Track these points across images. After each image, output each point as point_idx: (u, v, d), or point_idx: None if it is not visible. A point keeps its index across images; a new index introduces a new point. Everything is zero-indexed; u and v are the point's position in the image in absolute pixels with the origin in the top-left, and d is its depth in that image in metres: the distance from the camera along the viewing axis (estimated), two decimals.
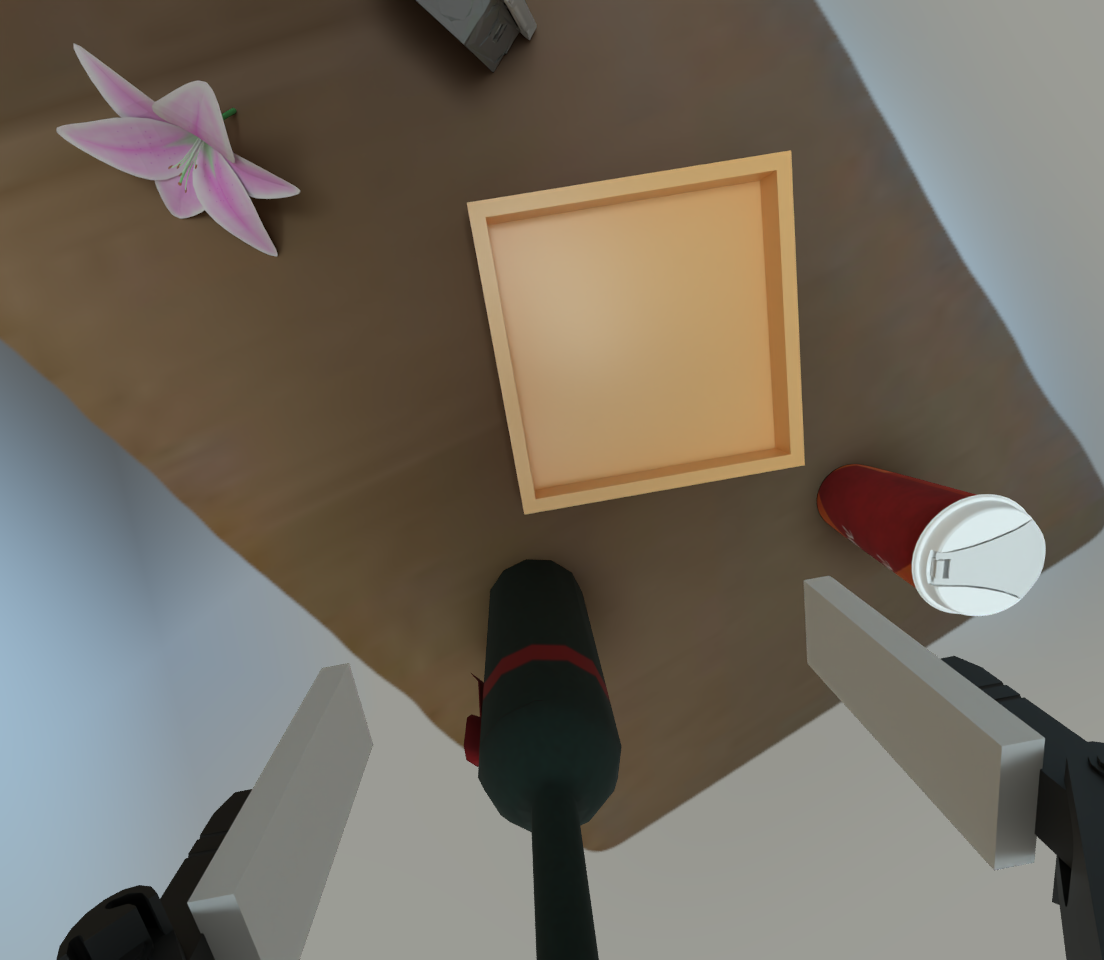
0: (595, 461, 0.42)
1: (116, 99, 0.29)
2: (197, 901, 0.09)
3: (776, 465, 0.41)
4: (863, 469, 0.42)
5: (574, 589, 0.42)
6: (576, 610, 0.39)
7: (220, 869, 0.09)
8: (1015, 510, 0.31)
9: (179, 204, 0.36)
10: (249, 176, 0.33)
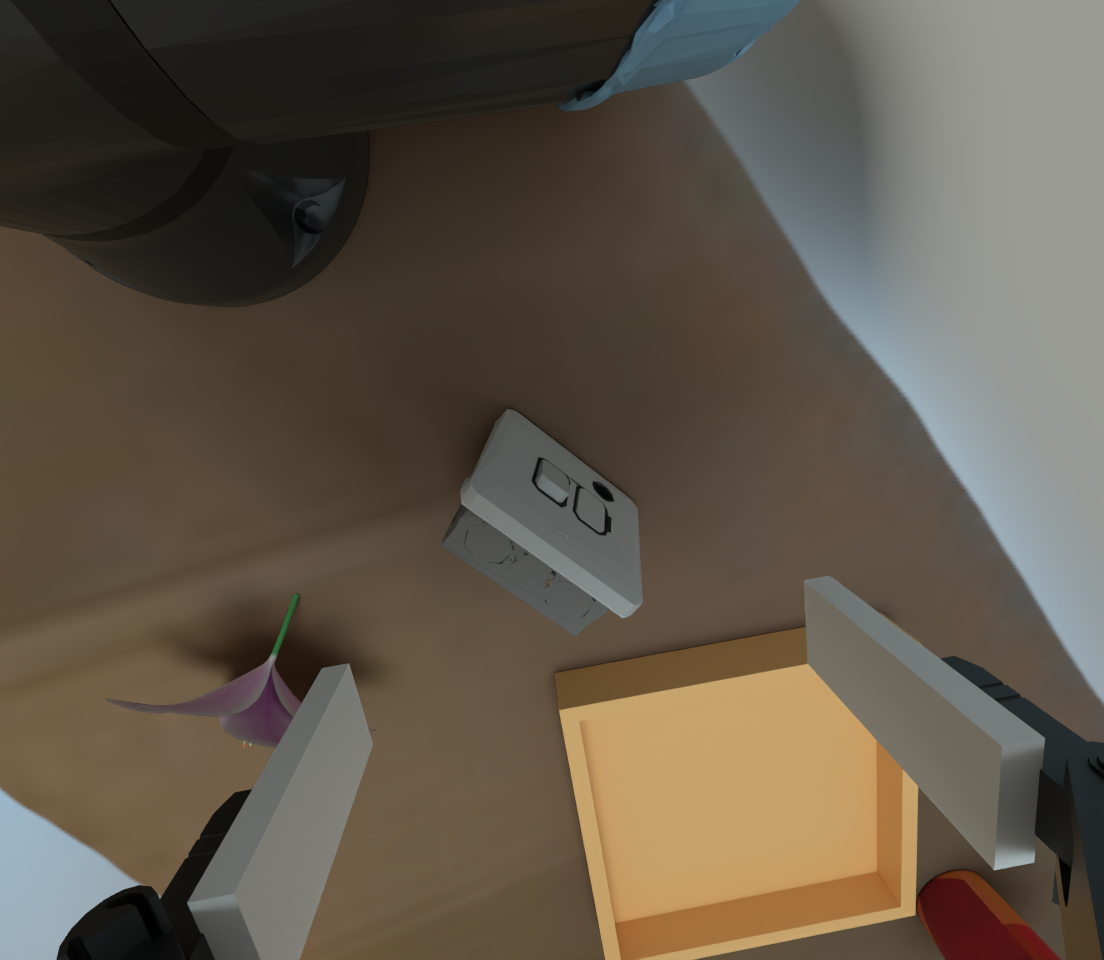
0: (682, 894, 0.38)
1: (177, 704, 0.25)
2: (197, 901, 0.09)
3: (884, 917, 0.37)
4: (974, 900, 0.39)
5: None
6: None
7: (220, 869, 0.09)
8: None
9: None
10: None
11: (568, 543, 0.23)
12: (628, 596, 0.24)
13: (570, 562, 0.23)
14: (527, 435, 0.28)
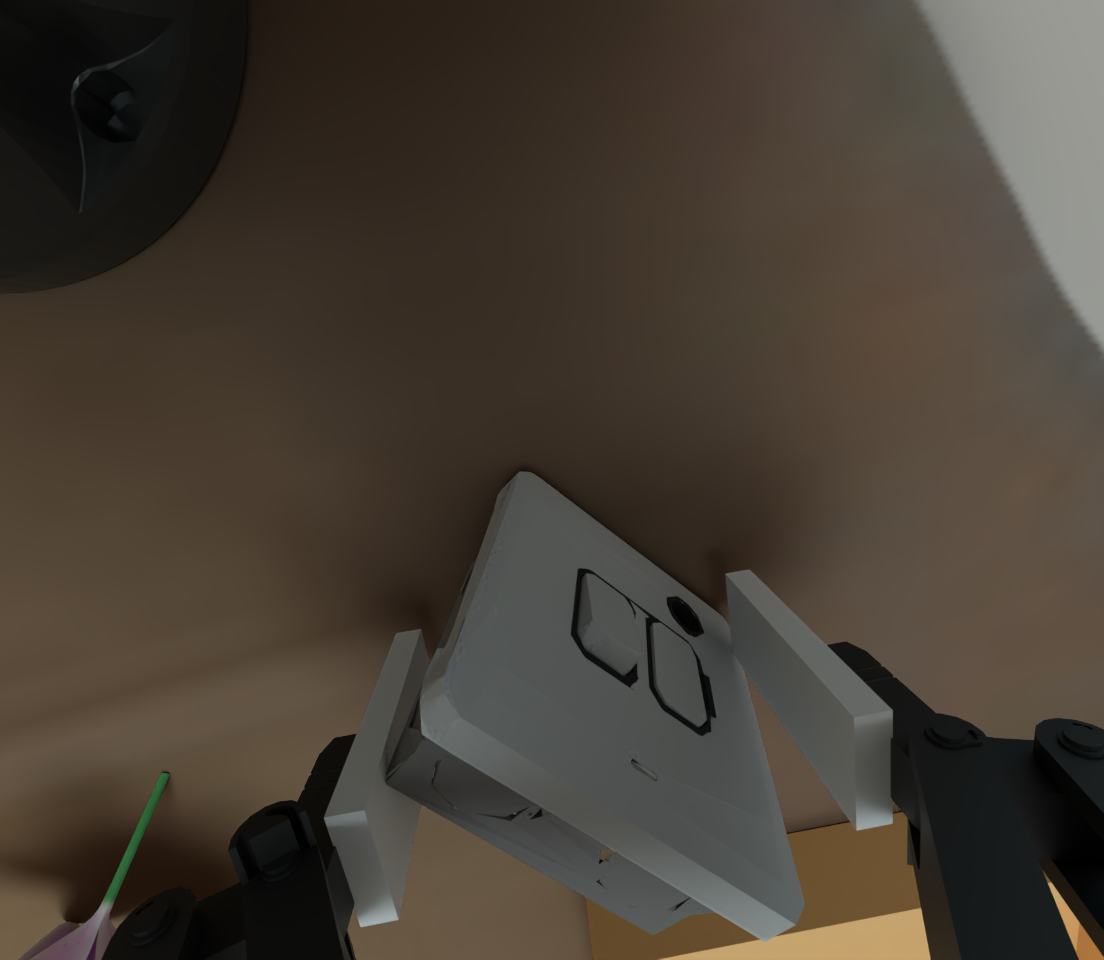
0: None
1: None
2: (332, 817, 0.10)
3: None
4: None
5: None
6: None
7: (346, 792, 0.11)
8: None
9: None
10: None
11: (655, 790, 0.11)
12: (778, 899, 0.11)
13: (665, 850, 0.10)
14: (556, 523, 0.16)
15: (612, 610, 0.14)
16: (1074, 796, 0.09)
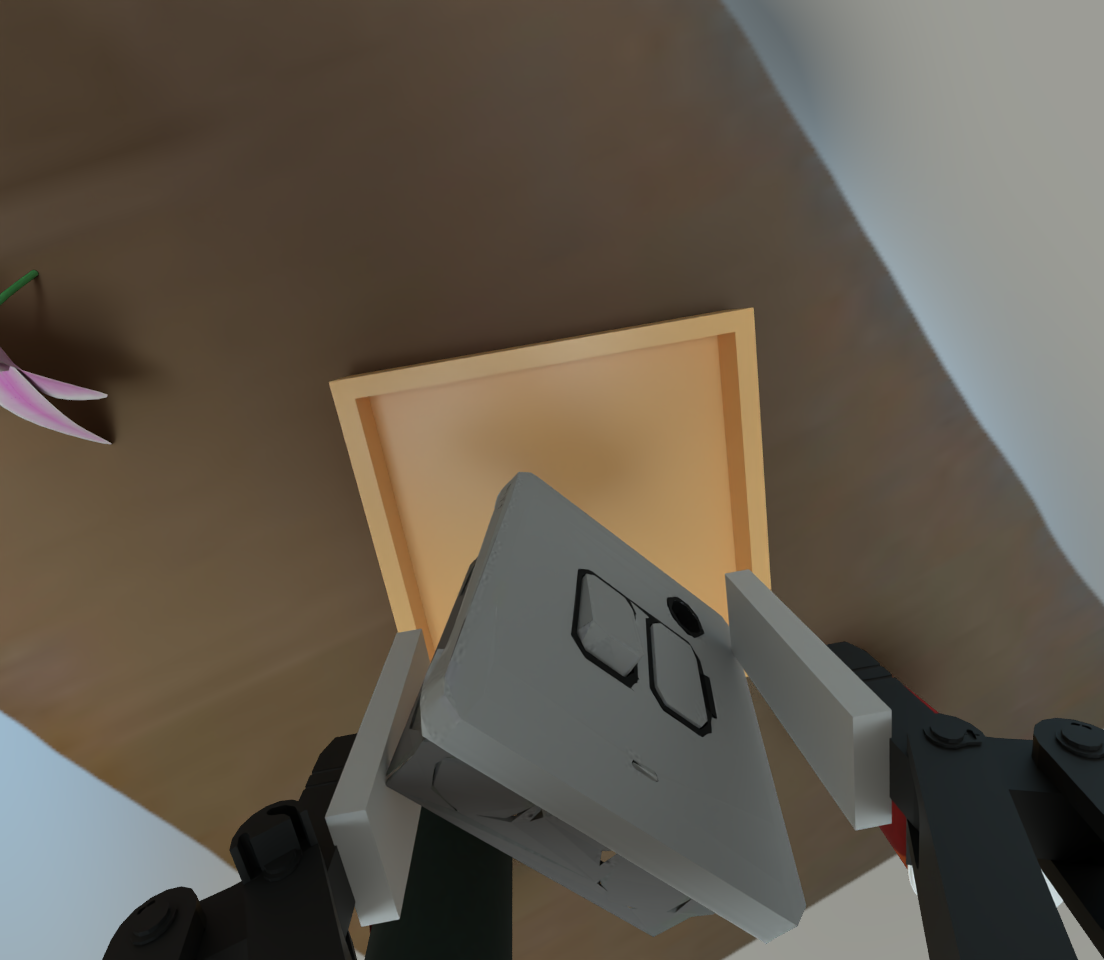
0: None
1: None
2: (333, 816, 0.10)
3: None
4: None
5: None
6: (489, 867, 0.31)
7: (347, 792, 0.11)
8: None
9: None
10: (38, 378, 0.25)
11: (656, 791, 0.11)
12: (780, 900, 0.11)
13: (666, 851, 0.10)
14: (556, 523, 0.16)
15: (612, 611, 0.14)
16: (1073, 796, 0.09)
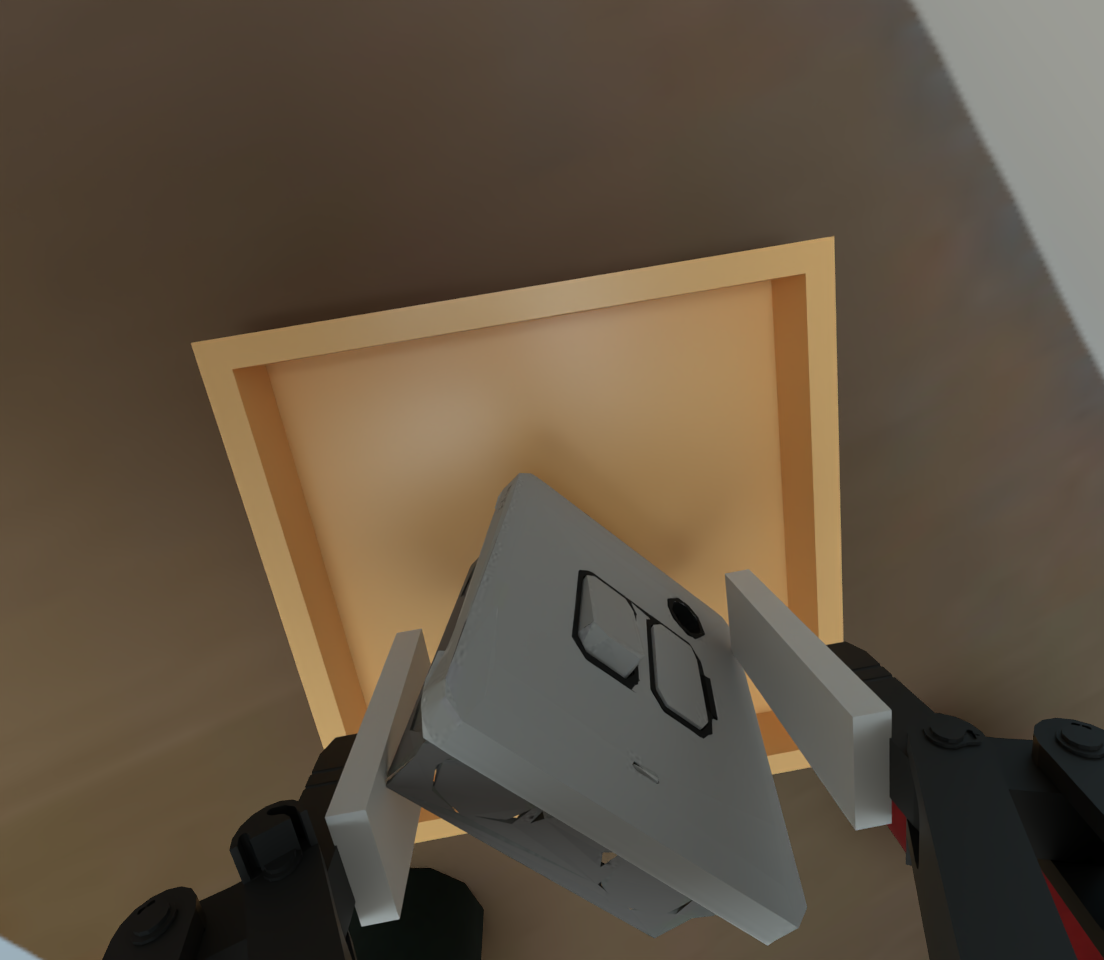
0: None
1: None
2: (333, 816, 0.10)
3: (797, 762, 0.23)
4: None
5: (456, 950, 0.25)
6: None
7: (347, 792, 0.11)
8: None
9: None
10: None
11: (657, 793, 0.11)
12: (780, 902, 0.11)
13: (667, 853, 0.10)
14: (556, 524, 0.16)
15: (613, 612, 0.14)
16: (1073, 796, 0.09)
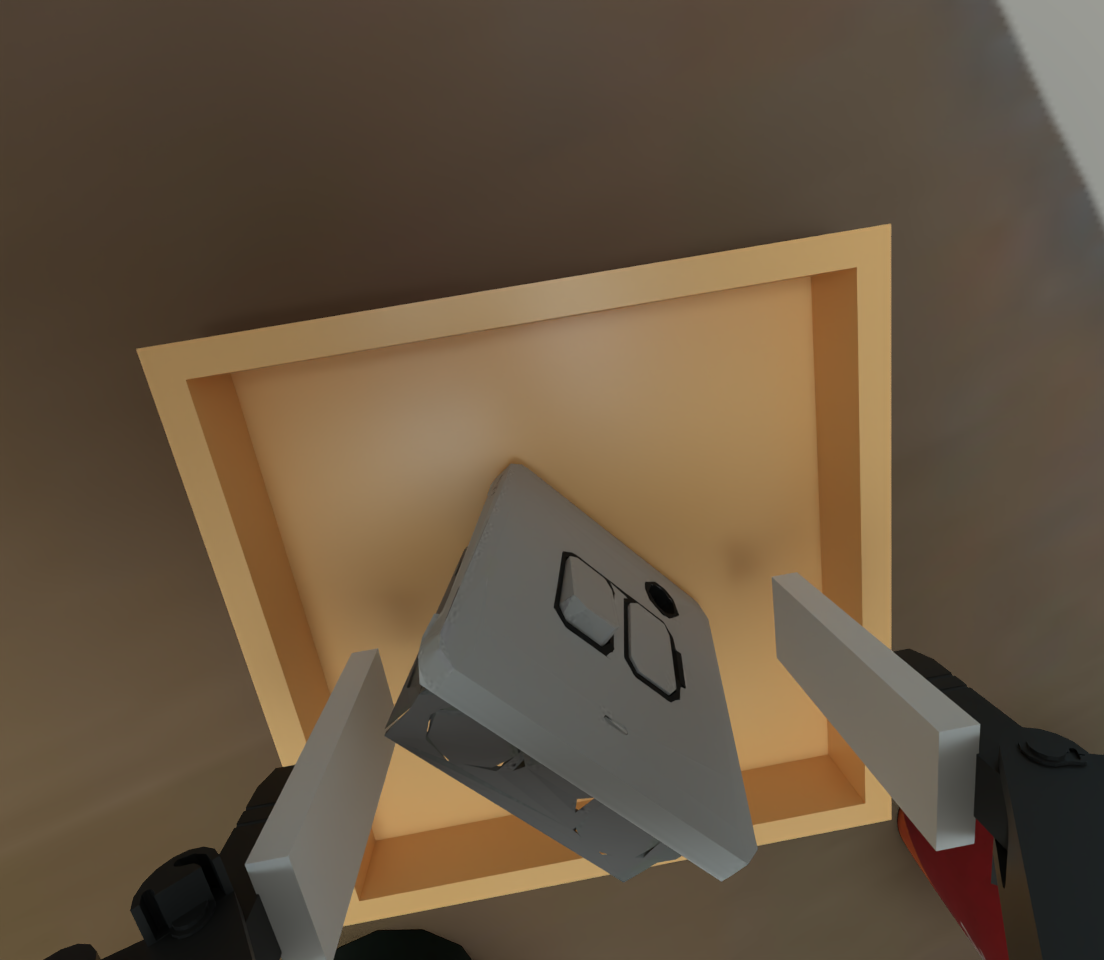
0: None
1: None
2: (253, 863, 0.09)
3: (836, 822, 0.21)
4: None
5: None
6: None
7: (272, 835, 0.10)
8: None
9: None
10: None
11: (625, 743, 0.12)
12: (733, 842, 0.13)
13: (632, 792, 0.12)
14: (543, 510, 0.17)
15: (592, 588, 0.15)
16: None
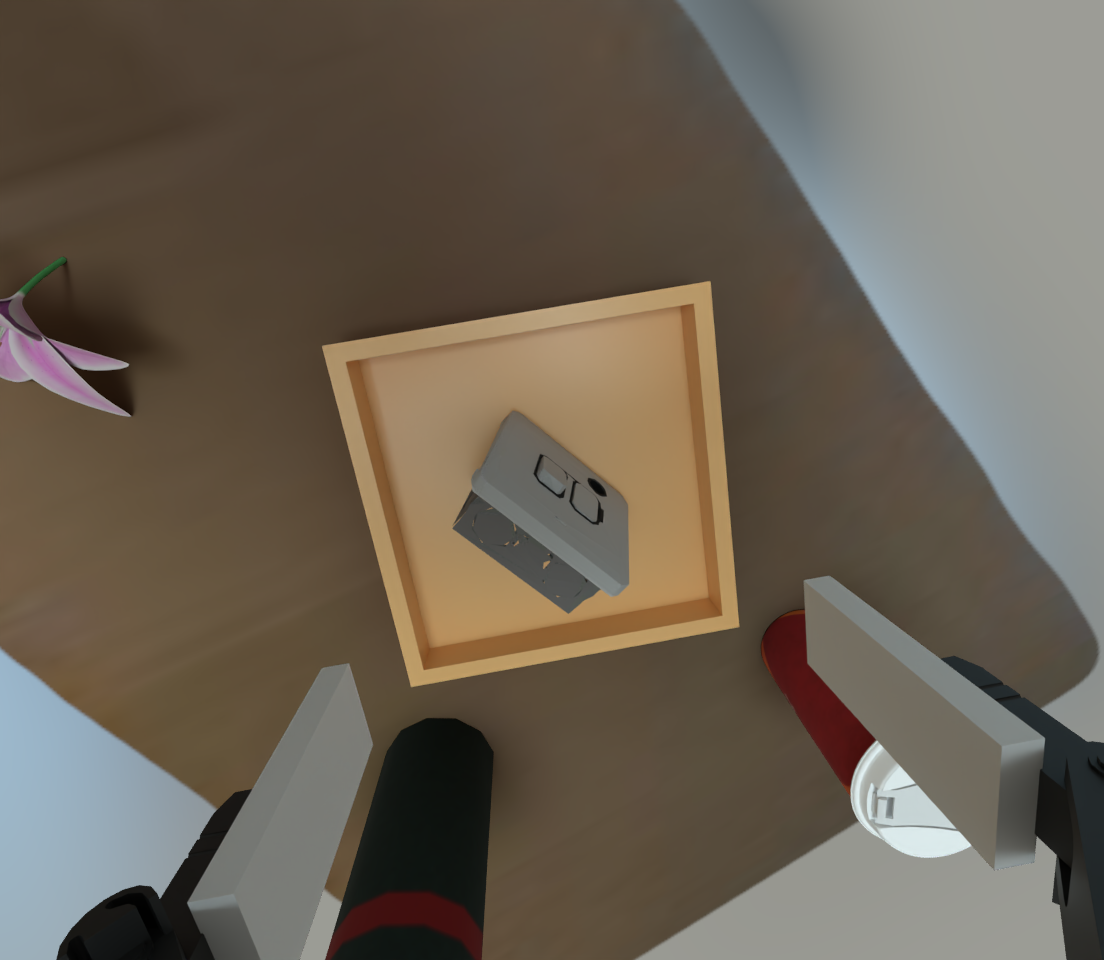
0: (499, 616, 0.36)
1: None
2: (197, 901, 0.09)
3: (706, 628, 0.35)
4: None
5: (475, 763, 0.37)
6: (467, 807, 0.33)
7: (220, 869, 0.09)
8: None
9: (6, 371, 0.31)
10: (67, 350, 0.28)
11: (565, 529, 0.27)
12: (616, 578, 0.27)
13: (566, 545, 0.26)
14: (530, 434, 0.31)
15: (554, 470, 0.29)
16: None
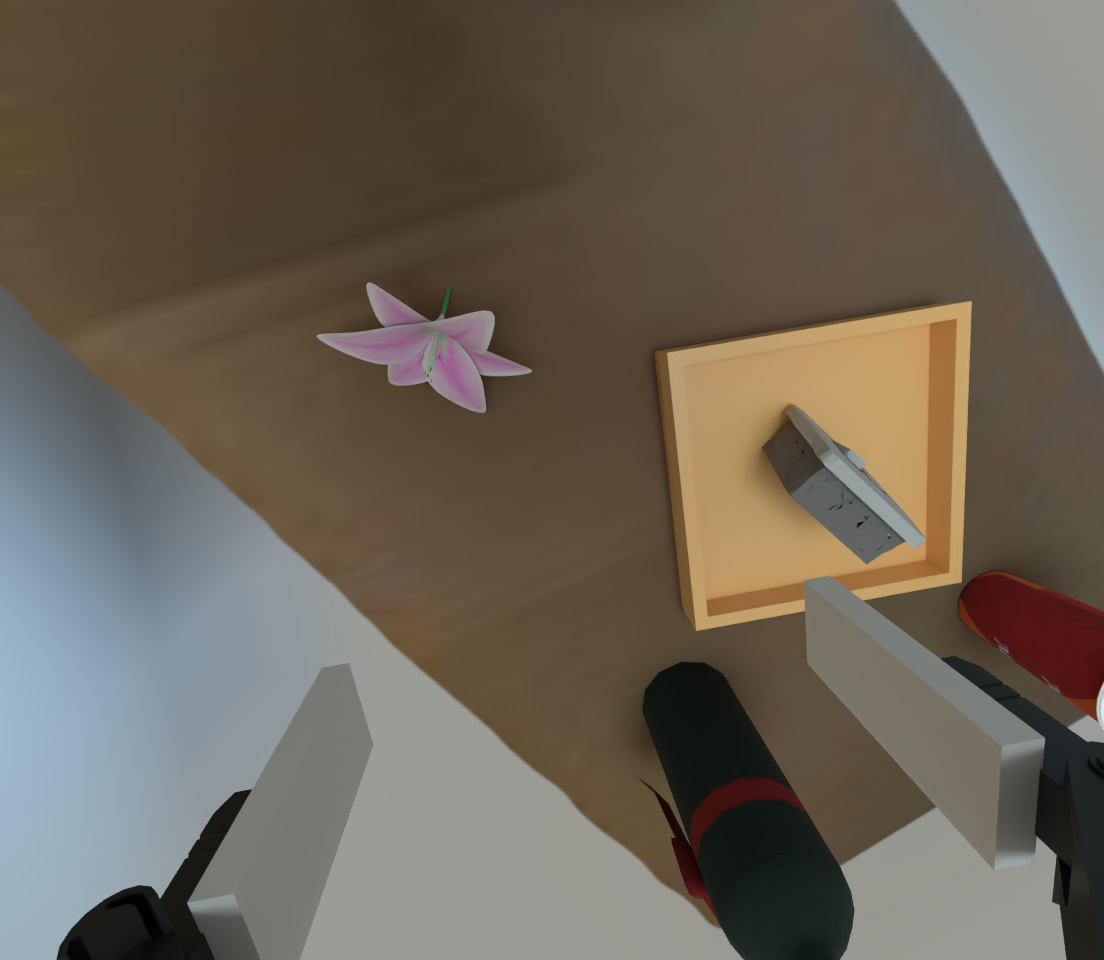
0: (756, 574, 0.44)
1: (386, 315, 0.32)
2: (197, 902, 0.09)
3: (935, 582, 0.43)
4: (1011, 581, 0.44)
5: (735, 696, 0.44)
6: (751, 726, 0.41)
7: (220, 869, 0.09)
8: None
9: (401, 377, 0.38)
10: (484, 360, 0.35)
11: (881, 496, 0.34)
12: (919, 534, 0.34)
13: (889, 508, 0.33)
14: (815, 423, 0.39)
15: None
16: None
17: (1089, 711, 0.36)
